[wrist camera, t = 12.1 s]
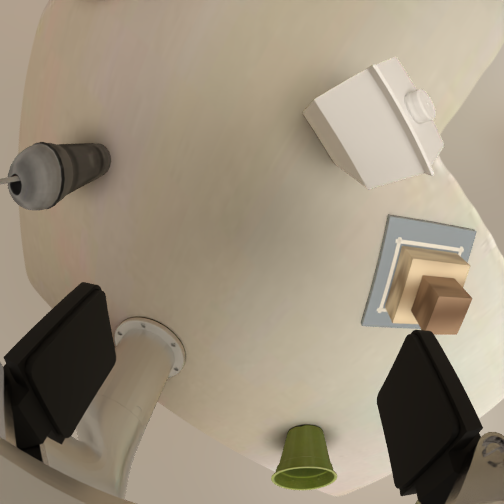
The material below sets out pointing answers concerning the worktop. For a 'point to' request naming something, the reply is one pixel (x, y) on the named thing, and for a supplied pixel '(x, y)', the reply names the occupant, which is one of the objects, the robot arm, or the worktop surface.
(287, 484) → the plant pot
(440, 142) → the milk carton
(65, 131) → the worktop surface
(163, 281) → the worktop surface
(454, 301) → the walnut block
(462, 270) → the maple slab
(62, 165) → the beverage cup
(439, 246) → the board
